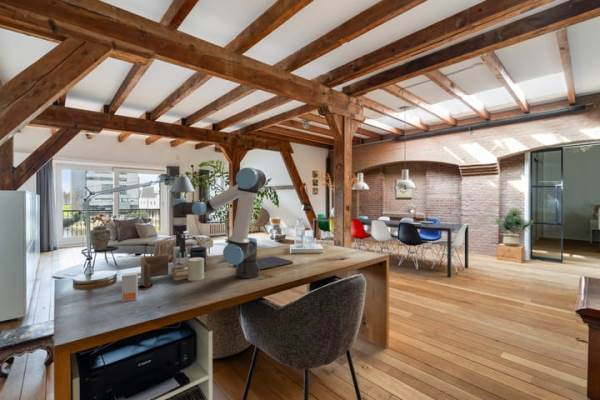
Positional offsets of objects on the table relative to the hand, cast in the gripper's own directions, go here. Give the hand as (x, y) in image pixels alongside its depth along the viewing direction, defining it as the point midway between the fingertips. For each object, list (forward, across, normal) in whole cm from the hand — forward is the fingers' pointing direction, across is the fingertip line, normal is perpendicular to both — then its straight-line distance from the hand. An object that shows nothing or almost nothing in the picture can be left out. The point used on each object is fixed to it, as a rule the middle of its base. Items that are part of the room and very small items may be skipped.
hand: (180, 261), depth 168 cm
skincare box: (+10, +26, -27) cm, 39 cm away
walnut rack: (+9, 0, -12) cm, 15 cm away
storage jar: (+10, -6, +12) cm, 17 cm away
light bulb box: (+3, 0, 0) cm, 3 cm away
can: (+10, +8, +7) cm, 15 cm away
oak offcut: (+10, 0, 0) cm, 10 cm away
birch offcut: (+7, 0, 0) cm, 7 cm away
